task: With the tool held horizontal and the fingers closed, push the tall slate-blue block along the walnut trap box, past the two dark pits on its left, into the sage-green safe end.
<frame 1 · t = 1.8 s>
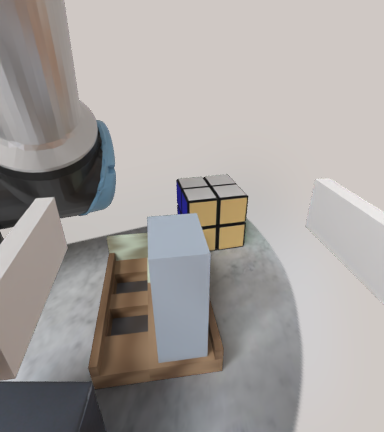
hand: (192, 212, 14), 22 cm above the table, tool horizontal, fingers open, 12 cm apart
slate block: (179, 331, 32), point 2 cm above the table, touching trap box
puzzle cube: (208, 236, 53), on the table
trap box: (156, 309, 37), on the table
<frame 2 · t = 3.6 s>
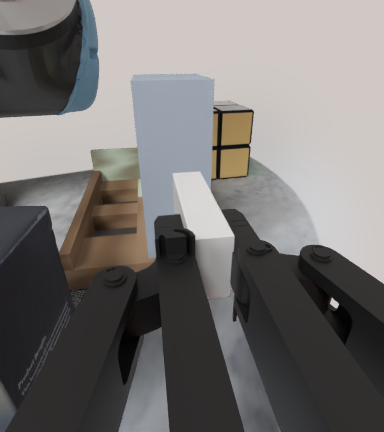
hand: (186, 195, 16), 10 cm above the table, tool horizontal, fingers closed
slate block: (174, 232, 26), point 2 cm above the table, touching trap box
puzzle cube: (208, 170, 47), on the table
trap box: (148, 223, 32), on the table
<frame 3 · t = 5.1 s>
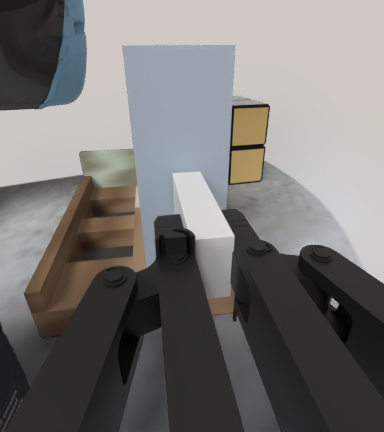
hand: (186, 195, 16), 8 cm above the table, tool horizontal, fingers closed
slate block: (179, 246, 22), point 2 cm above the table, touching gripper, trap box
puzzle cube: (216, 174, 42), on the table
trap box: (147, 240, 26), on the table
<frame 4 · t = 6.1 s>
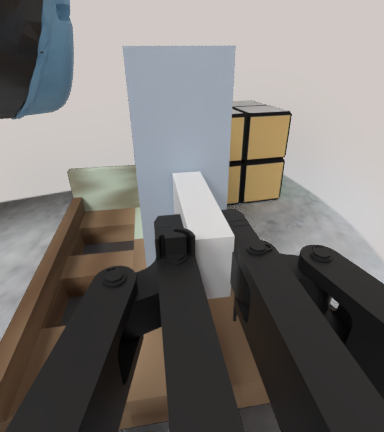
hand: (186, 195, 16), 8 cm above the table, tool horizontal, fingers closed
slate block: (180, 246, 22), point 2 cm above the table, touching gripper
puzzle cube: (226, 189, 37), on the table
trap box: (149, 282, 21), on the table
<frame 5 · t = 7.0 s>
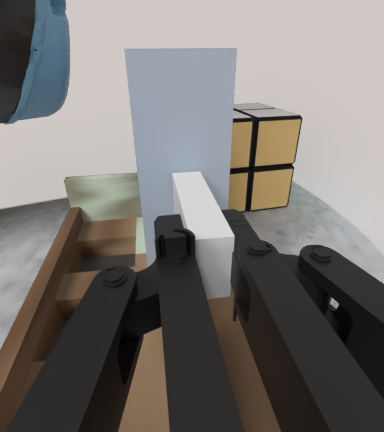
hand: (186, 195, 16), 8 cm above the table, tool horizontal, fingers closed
slate block: (181, 247, 22), point 2 cm above the table, touching gripper, trap box
puzzle cube: (231, 196, 35), on the table
trap box: (152, 301, 20), on the table
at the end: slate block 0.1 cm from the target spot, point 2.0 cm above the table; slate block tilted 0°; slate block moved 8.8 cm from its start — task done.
